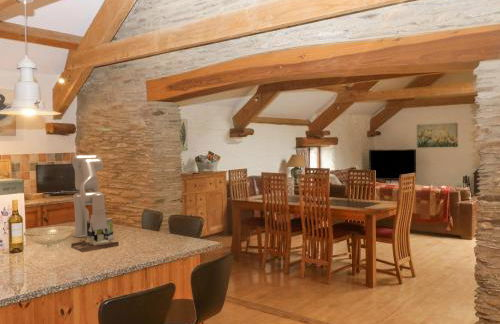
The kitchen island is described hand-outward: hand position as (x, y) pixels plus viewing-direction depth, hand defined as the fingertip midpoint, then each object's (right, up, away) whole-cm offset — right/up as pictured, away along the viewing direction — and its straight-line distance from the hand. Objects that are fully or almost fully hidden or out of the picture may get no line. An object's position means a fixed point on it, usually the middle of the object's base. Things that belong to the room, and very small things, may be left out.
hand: (99, 239), depth 299 cm
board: (-2, -4, -2) cm, 5 cm away
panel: (-1, -2, -1) cm, 2 cm away
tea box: (-5, -4, +19) cm, 20 cm away
